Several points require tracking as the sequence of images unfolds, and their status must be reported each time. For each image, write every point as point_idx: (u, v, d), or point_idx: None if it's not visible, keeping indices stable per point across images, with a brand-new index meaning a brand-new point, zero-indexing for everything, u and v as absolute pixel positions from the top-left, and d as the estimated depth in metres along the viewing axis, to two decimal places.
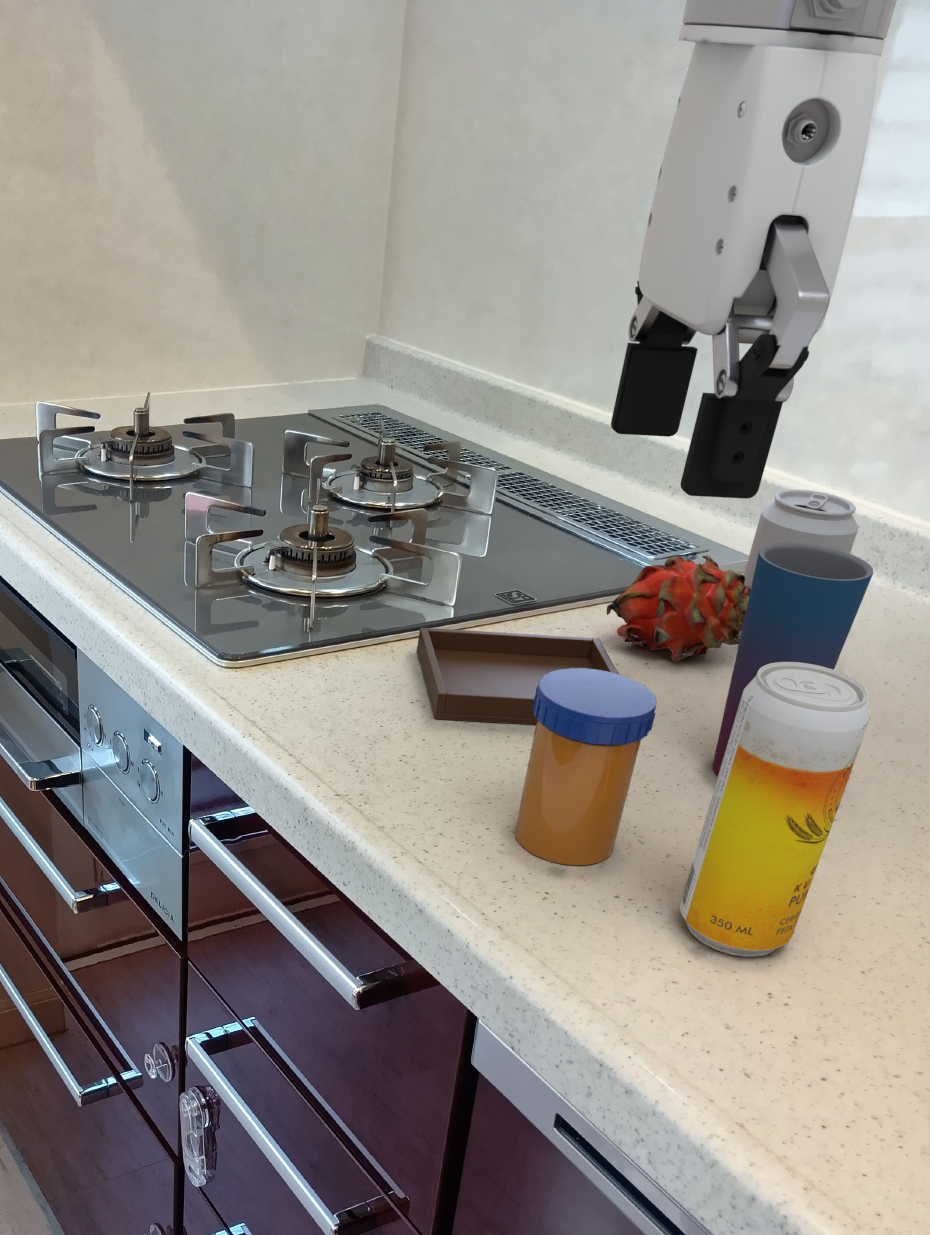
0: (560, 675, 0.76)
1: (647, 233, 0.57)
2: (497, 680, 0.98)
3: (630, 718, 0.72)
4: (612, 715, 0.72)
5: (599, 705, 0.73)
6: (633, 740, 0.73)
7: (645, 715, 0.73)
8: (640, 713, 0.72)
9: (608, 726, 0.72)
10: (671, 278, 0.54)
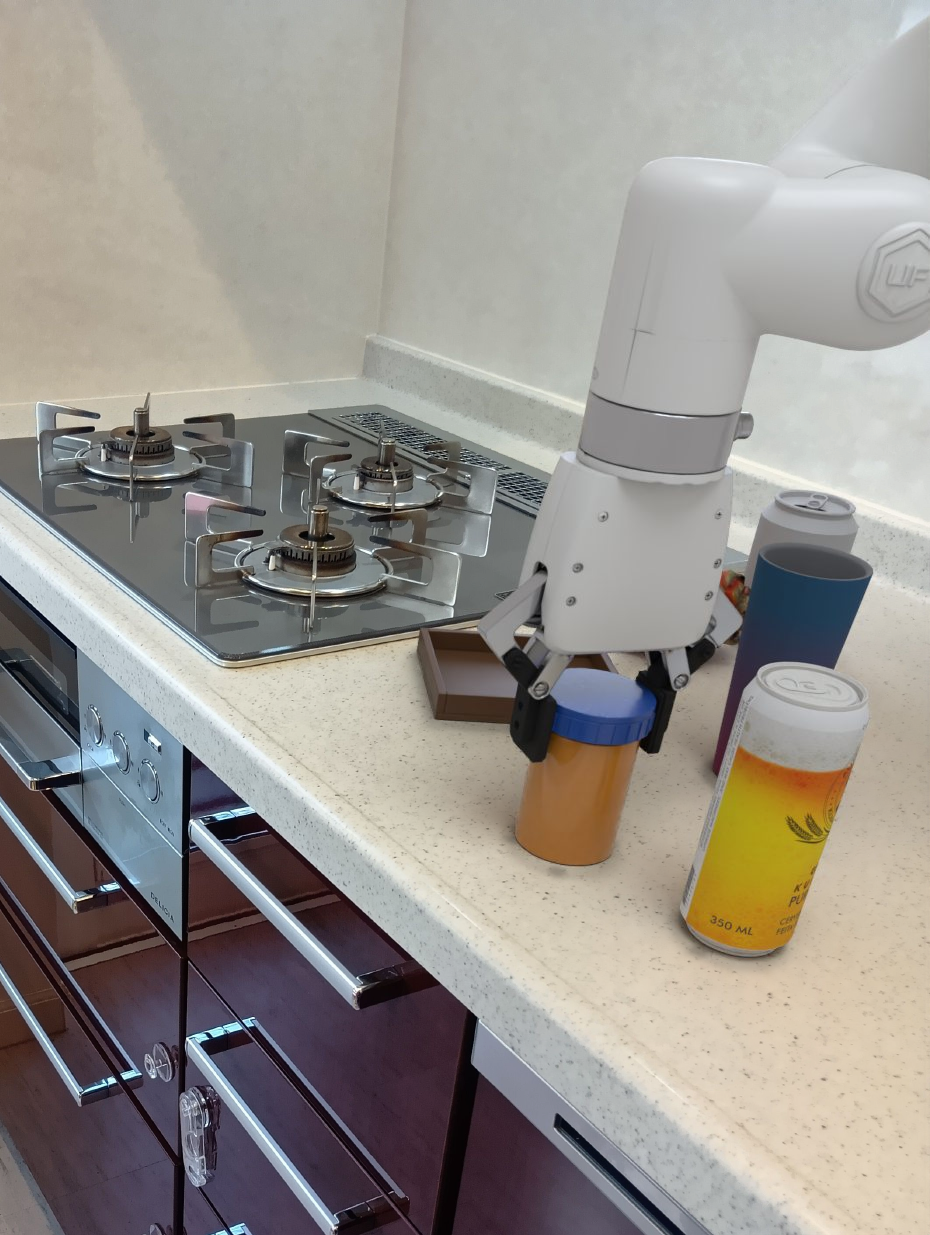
0: None
1: (568, 611, 0.69)
2: (497, 680, 0.98)
3: (630, 718, 0.72)
4: (612, 715, 0.72)
5: (599, 705, 0.73)
6: (633, 740, 0.73)
7: (645, 715, 0.73)
8: (640, 713, 0.72)
9: (608, 726, 0.72)
10: (636, 629, 0.70)
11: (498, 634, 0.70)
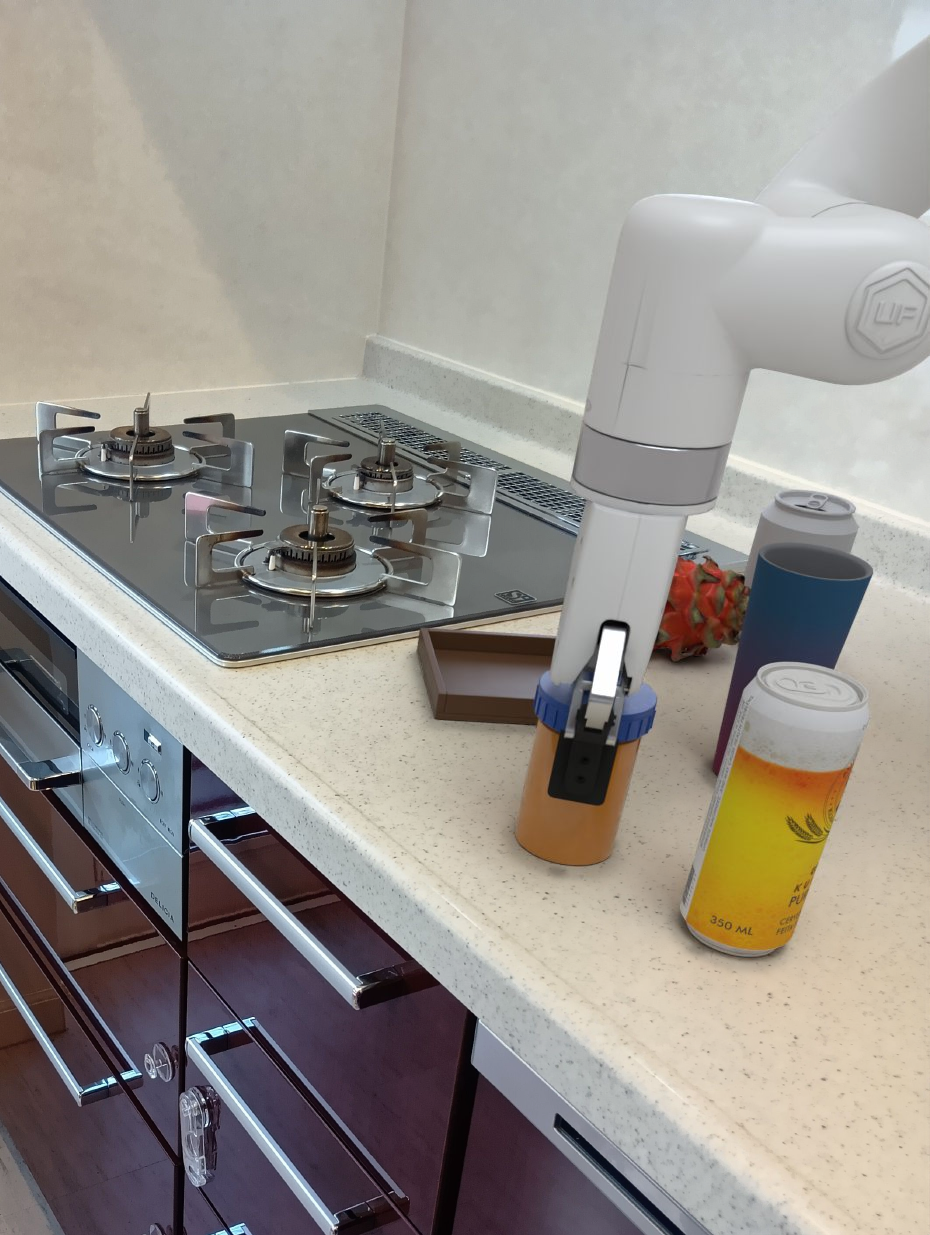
0: (554, 690, 0.74)
1: (650, 654, 0.68)
2: (497, 680, 0.98)
3: (655, 698, 0.74)
4: (651, 702, 0.73)
5: (627, 699, 0.73)
6: None
7: (651, 690, 0.75)
8: (651, 690, 0.75)
9: (652, 713, 0.73)
10: None
11: None
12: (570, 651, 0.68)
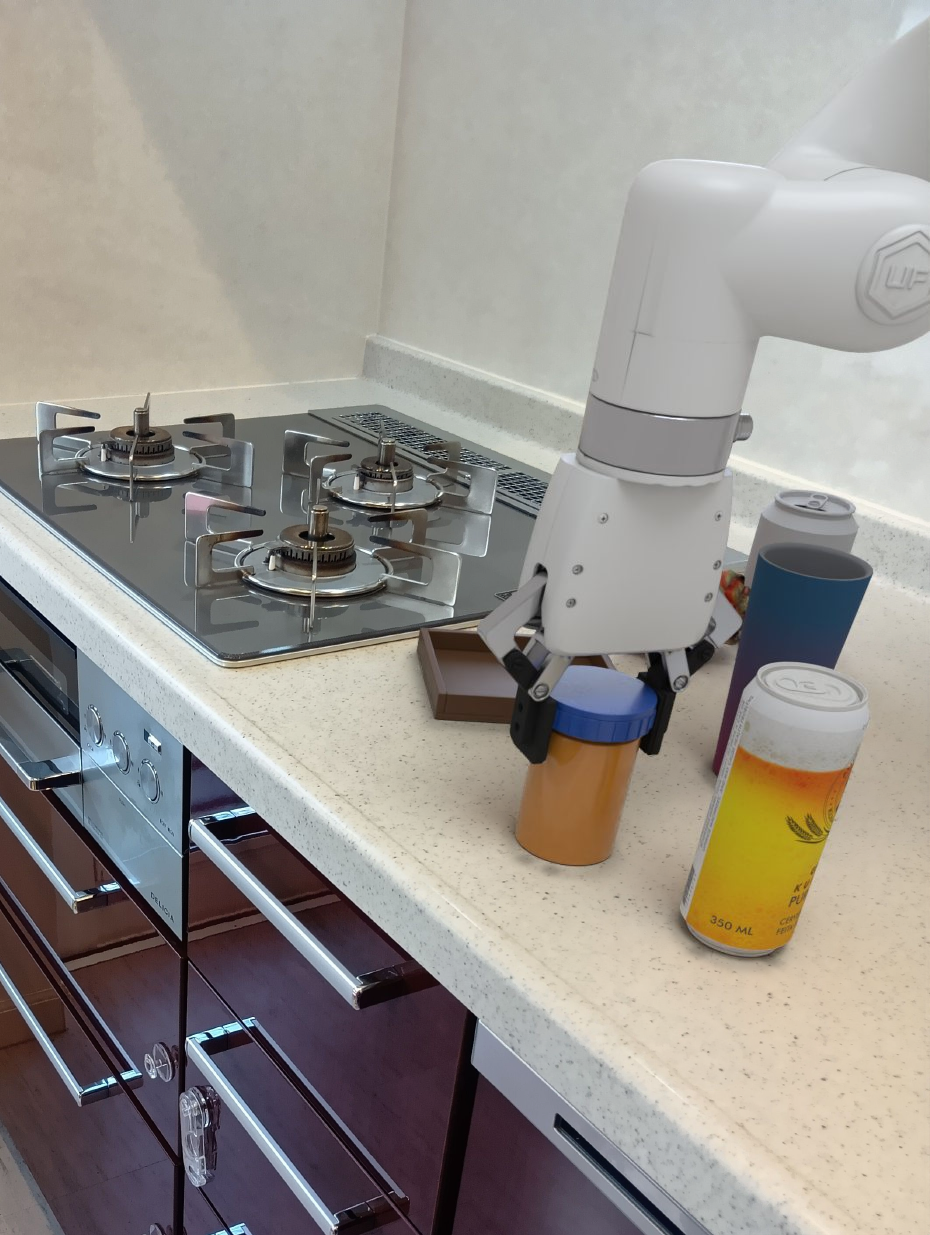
0: (554, 690, 0.74)
1: (568, 613, 0.69)
2: (497, 680, 0.98)
3: (655, 698, 0.74)
4: (651, 702, 0.73)
5: (627, 699, 0.73)
6: None
7: (651, 690, 0.75)
8: (651, 690, 0.75)
9: (652, 713, 0.73)
10: (636, 631, 0.70)
11: (498, 636, 0.70)
12: (519, 589, 0.72)
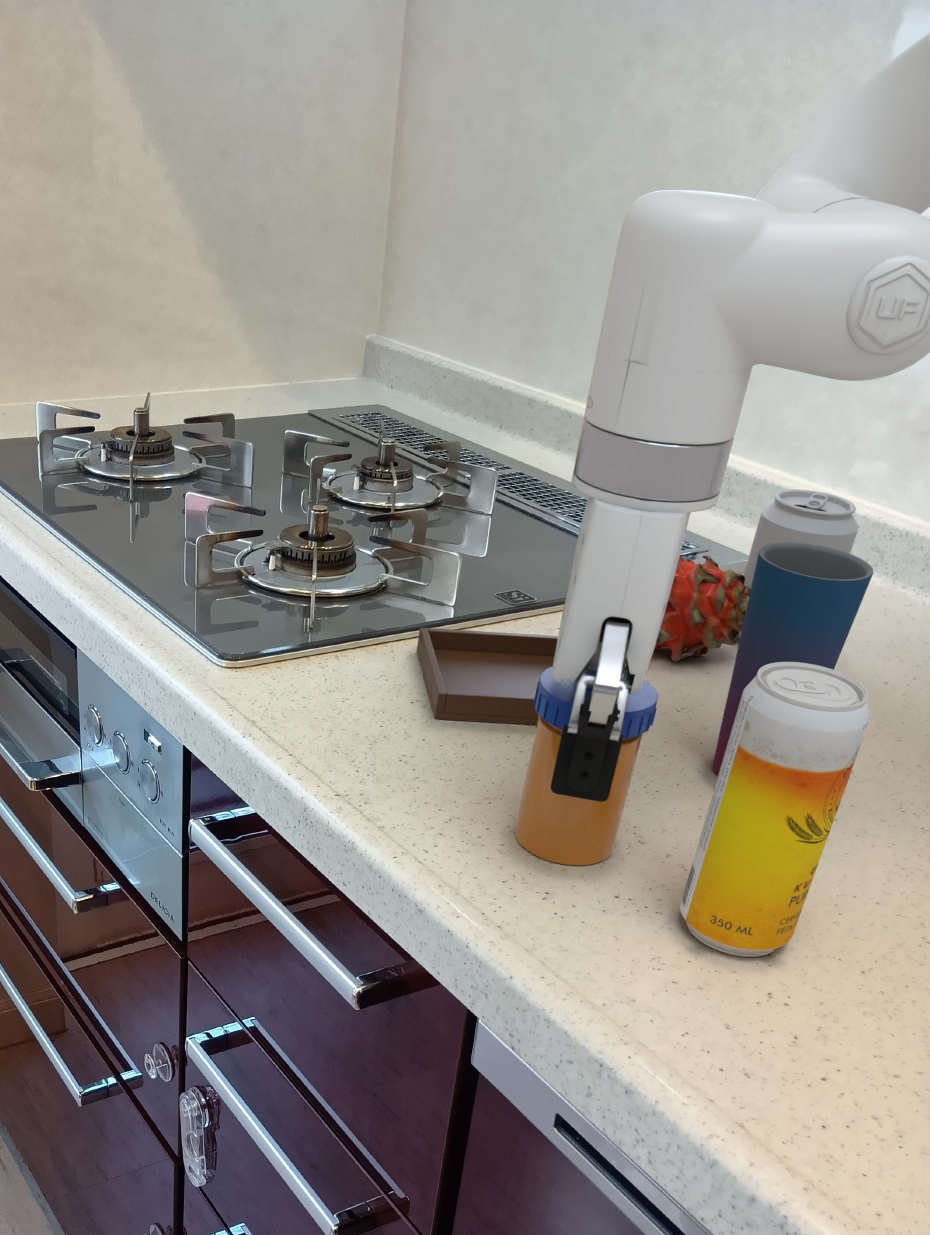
0: None
1: None
2: (497, 680, 0.98)
3: None
4: None
5: None
6: None
7: None
8: None
9: None
10: None
11: None
12: (572, 648, 0.68)
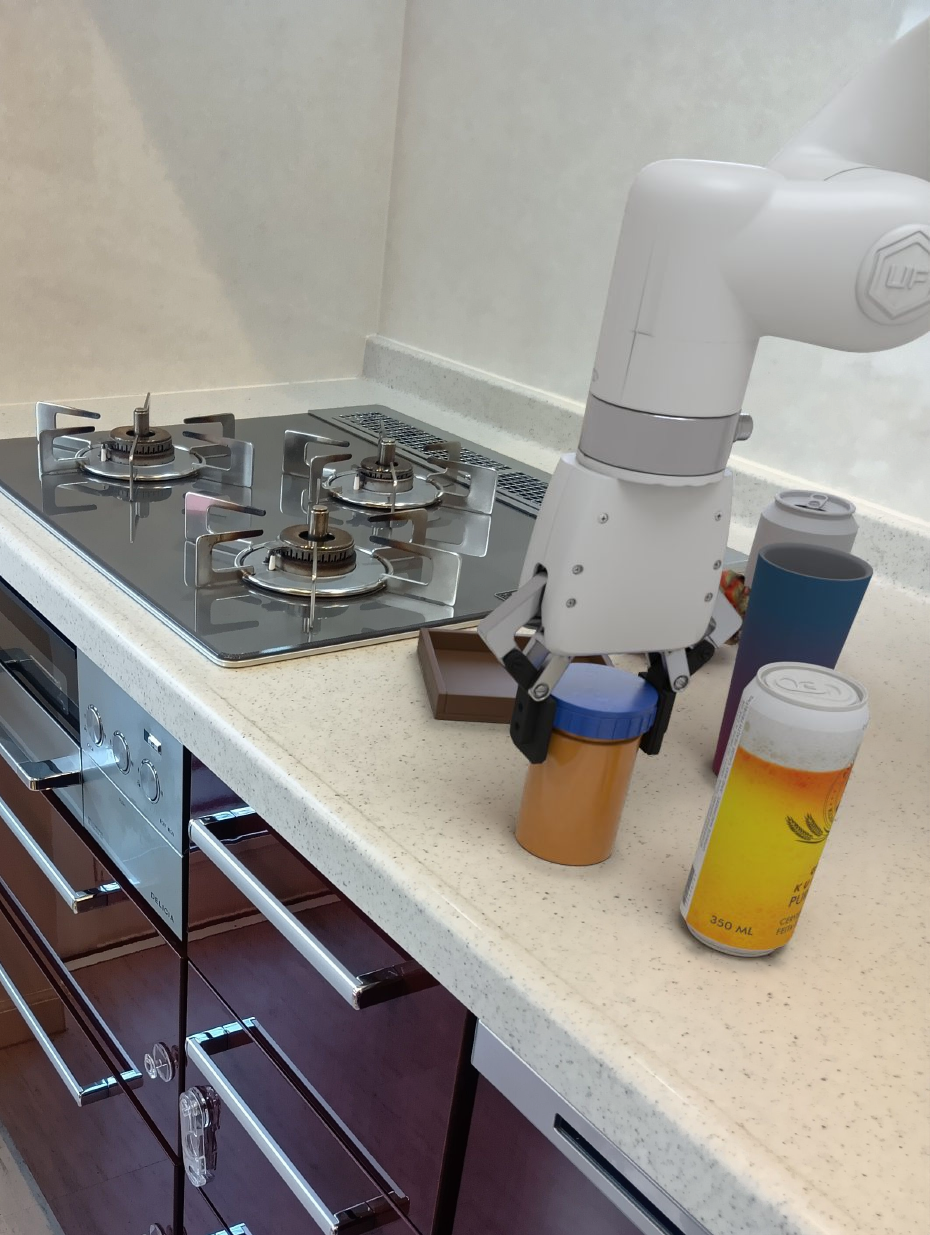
0: (592, 704, 0.72)
1: (568, 613, 0.69)
2: (497, 680, 0.98)
3: None
4: (636, 677, 0.76)
5: (625, 683, 0.75)
6: None
7: None
8: (610, 667, 0.77)
9: None
10: (636, 631, 0.70)
11: (498, 636, 0.70)
12: (519, 589, 0.72)
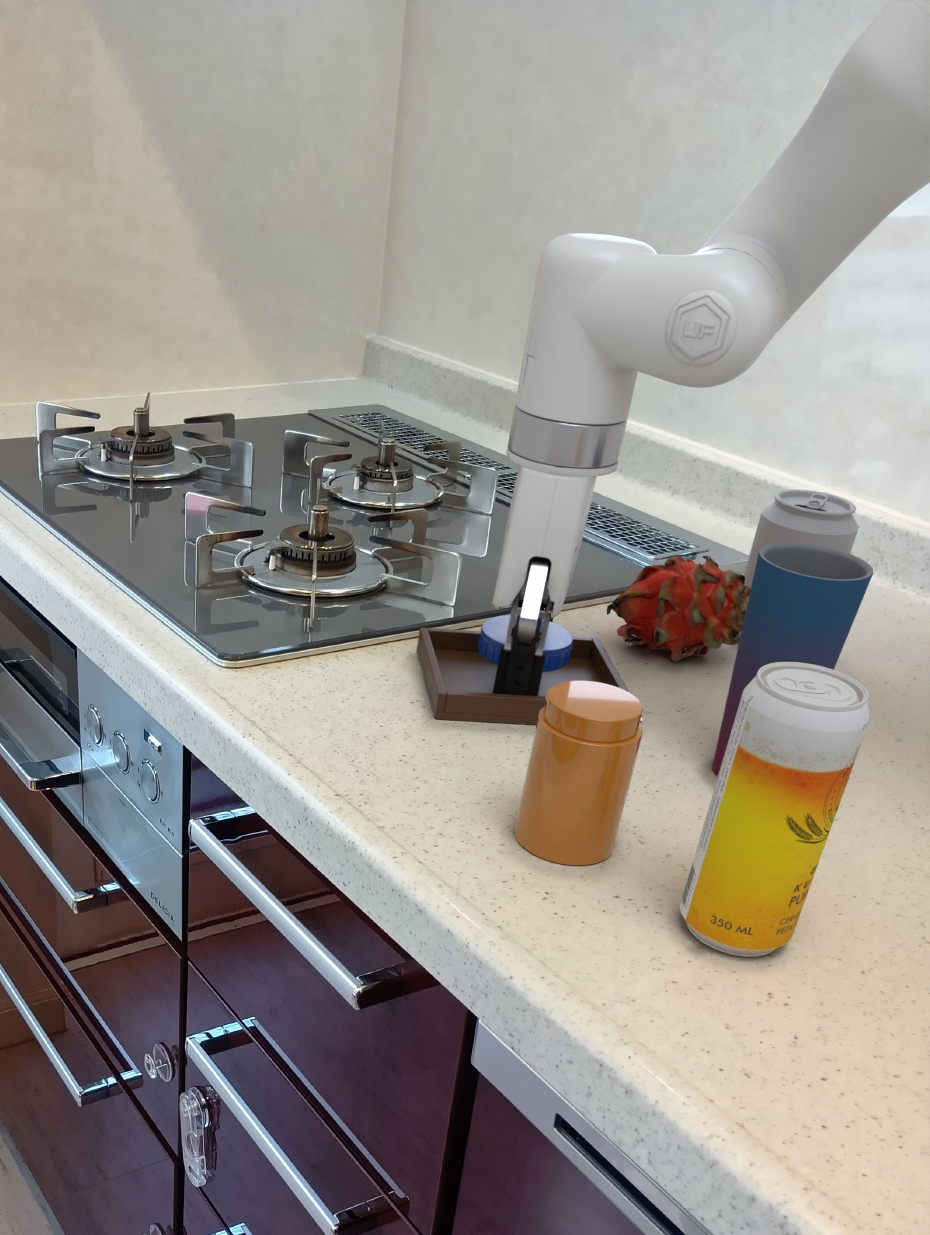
0: (555, 644, 0.94)
1: (568, 584, 0.89)
2: None
3: None
4: None
5: None
6: None
7: None
8: (497, 617, 0.98)
9: None
10: None
11: None
12: (506, 582, 0.89)
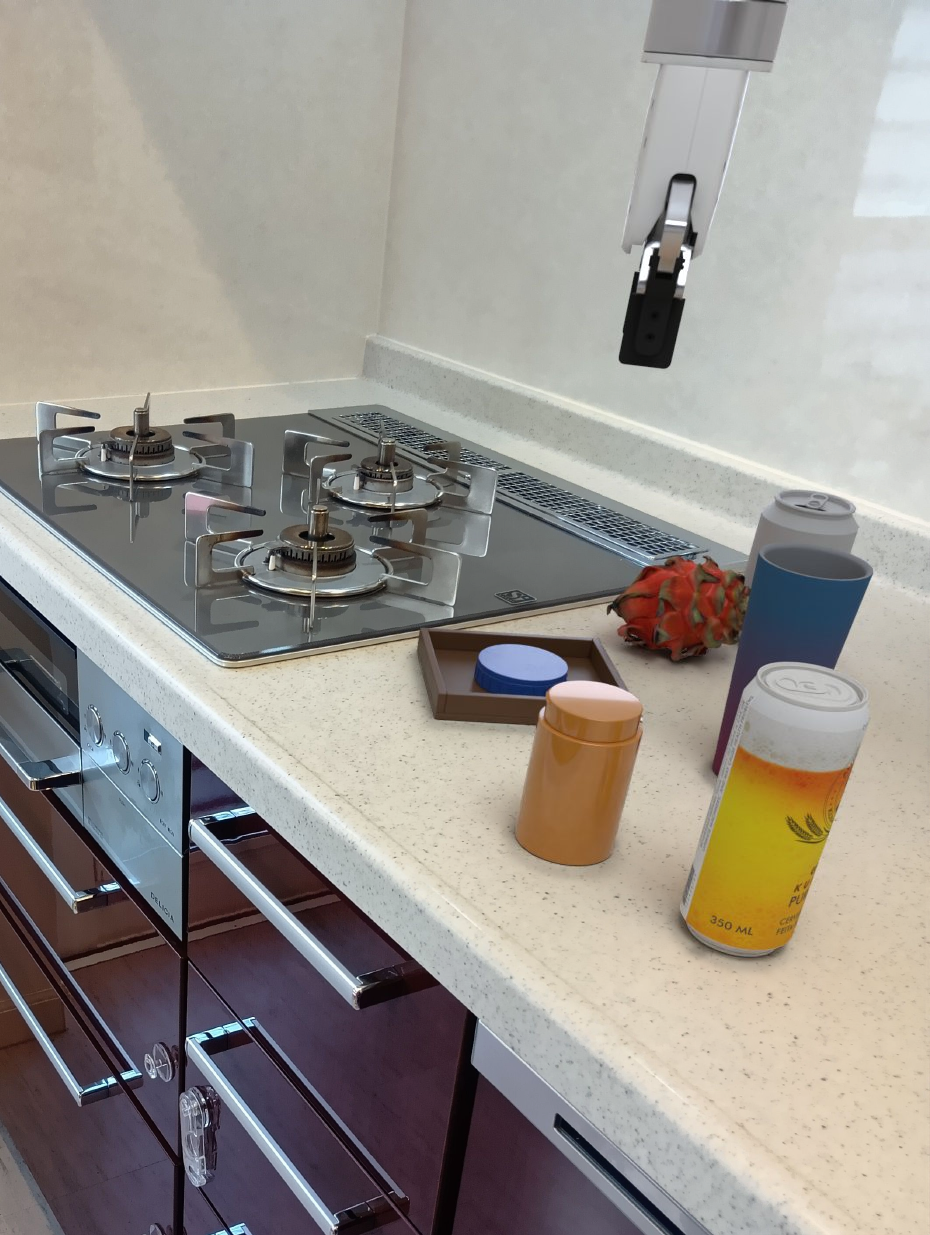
0: (551, 674, 0.95)
1: (713, 212, 0.77)
2: None
3: None
4: (514, 645, 1.00)
5: (523, 652, 0.99)
6: None
7: None
8: (493, 646, 0.99)
9: None
10: None
11: None
12: (642, 210, 0.77)
